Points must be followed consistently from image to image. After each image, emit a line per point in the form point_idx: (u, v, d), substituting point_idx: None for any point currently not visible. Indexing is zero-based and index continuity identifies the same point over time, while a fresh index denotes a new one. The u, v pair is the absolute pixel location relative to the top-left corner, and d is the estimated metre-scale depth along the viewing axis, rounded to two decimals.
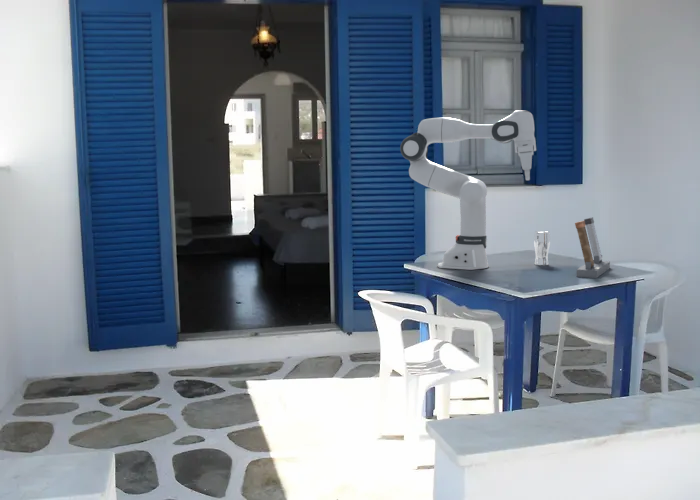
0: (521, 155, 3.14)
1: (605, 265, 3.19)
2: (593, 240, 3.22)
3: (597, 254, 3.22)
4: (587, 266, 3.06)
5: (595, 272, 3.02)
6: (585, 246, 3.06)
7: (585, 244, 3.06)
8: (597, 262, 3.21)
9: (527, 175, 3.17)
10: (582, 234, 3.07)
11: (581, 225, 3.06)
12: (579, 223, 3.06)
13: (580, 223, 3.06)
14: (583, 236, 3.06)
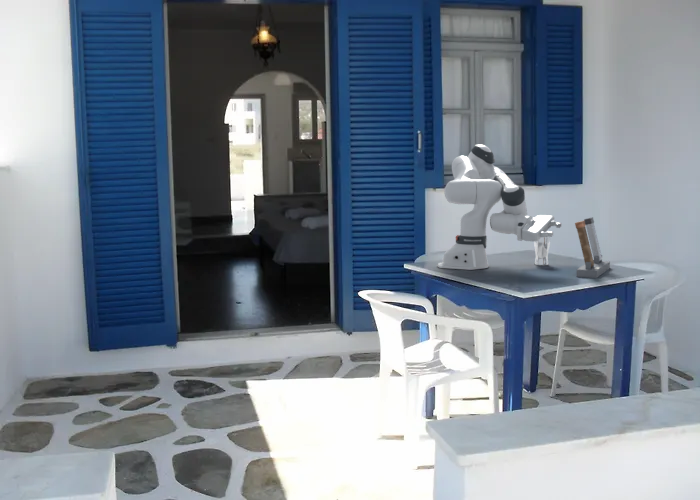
0: (523, 239, 3.12)
1: (605, 265, 3.19)
2: (593, 240, 3.22)
3: (597, 254, 3.22)
4: (587, 266, 3.06)
5: (595, 272, 3.02)
6: (585, 246, 3.06)
7: (585, 244, 3.06)
8: (597, 262, 3.21)
9: (546, 234, 3.09)
10: (582, 234, 3.07)
11: (581, 225, 3.06)
12: (579, 223, 3.06)
13: (580, 223, 3.06)
14: (583, 236, 3.06)
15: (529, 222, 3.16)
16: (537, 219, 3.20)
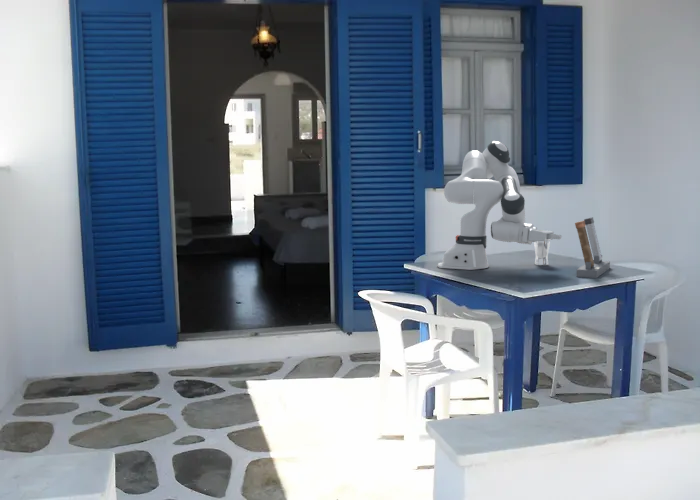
0: (530, 239, 3.10)
1: (605, 265, 3.19)
2: (593, 240, 3.22)
3: (597, 254, 3.22)
4: (587, 266, 3.06)
5: (595, 272, 3.02)
6: (585, 246, 3.06)
7: (585, 244, 3.06)
8: (597, 262, 3.21)
9: (554, 236, 3.13)
10: (582, 234, 3.07)
11: (581, 225, 3.06)
12: (579, 223, 3.06)
13: (580, 223, 3.06)
14: (583, 236, 3.06)
15: (533, 228, 3.16)
16: (538, 230, 3.21)
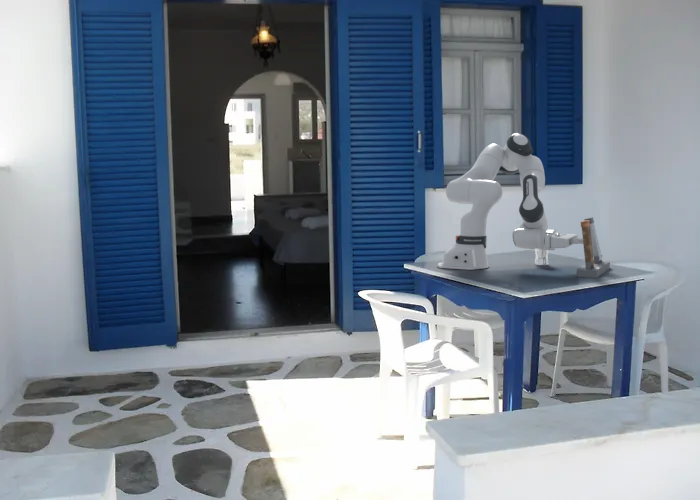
0: (552, 246, 3.07)
1: (605, 265, 3.19)
2: (593, 240, 3.22)
3: (597, 254, 3.22)
4: (587, 266, 3.06)
5: (595, 272, 3.02)
6: (587, 246, 3.06)
7: (588, 244, 3.06)
8: (597, 262, 3.21)
9: (577, 241, 3.09)
10: (586, 234, 3.06)
11: (586, 224, 3.05)
12: (585, 222, 3.05)
13: (586, 222, 3.05)
14: (587, 236, 3.06)
15: (556, 234, 3.13)
16: (561, 235, 3.18)
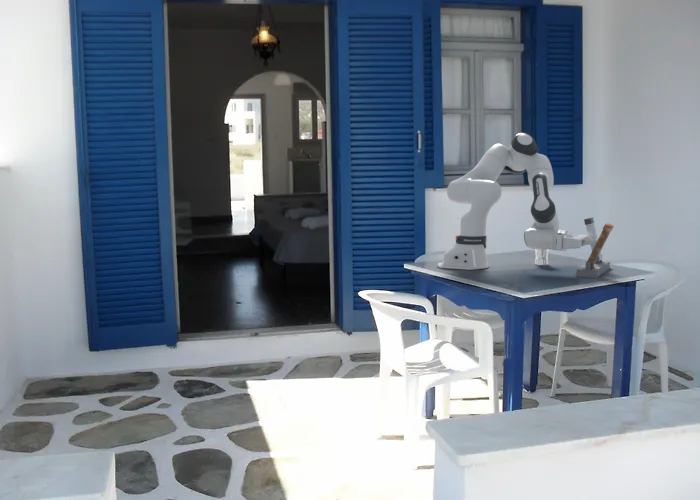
0: (564, 247, 3.04)
1: (605, 265, 3.19)
2: None
3: None
4: (587, 266, 3.06)
5: (595, 272, 3.02)
6: (598, 248, 3.04)
7: (599, 247, 3.04)
8: (597, 262, 3.21)
9: (590, 242, 3.06)
10: (603, 237, 3.03)
11: (608, 230, 3.01)
12: (608, 227, 3.01)
13: (609, 227, 3.01)
14: (603, 239, 3.03)
15: (568, 234, 3.10)
16: (573, 235, 3.15)
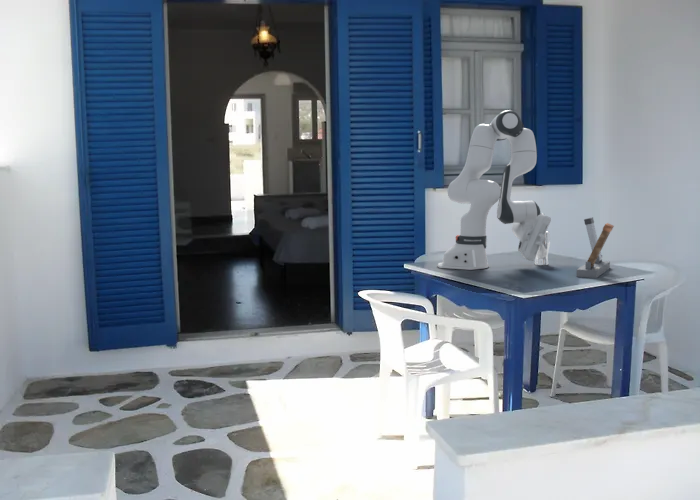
0: None
1: (605, 265, 3.19)
2: (593, 240, 3.22)
3: None
4: (587, 266, 3.06)
5: (595, 272, 3.02)
6: (598, 248, 3.04)
7: (599, 247, 3.04)
8: (597, 262, 3.21)
9: (539, 244, 3.13)
10: (603, 237, 3.03)
11: (608, 230, 3.01)
12: (608, 227, 3.01)
13: (609, 227, 3.01)
14: (603, 239, 3.03)
15: (526, 237, 3.21)
16: (535, 225, 3.19)
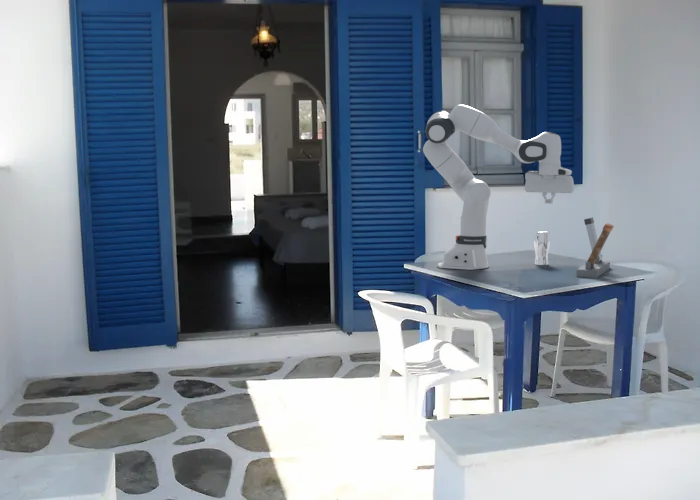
0: (570, 178, 3.11)
1: (605, 265, 3.19)
2: (593, 240, 3.22)
3: None
4: (587, 266, 3.06)
5: (595, 272, 3.02)
6: (598, 248, 3.04)
7: (599, 247, 3.04)
8: (597, 262, 3.21)
9: None
10: (603, 237, 3.03)
11: (608, 230, 3.01)
12: (608, 227, 3.01)
13: (609, 227, 3.01)
14: (603, 239, 3.03)
15: None
16: None
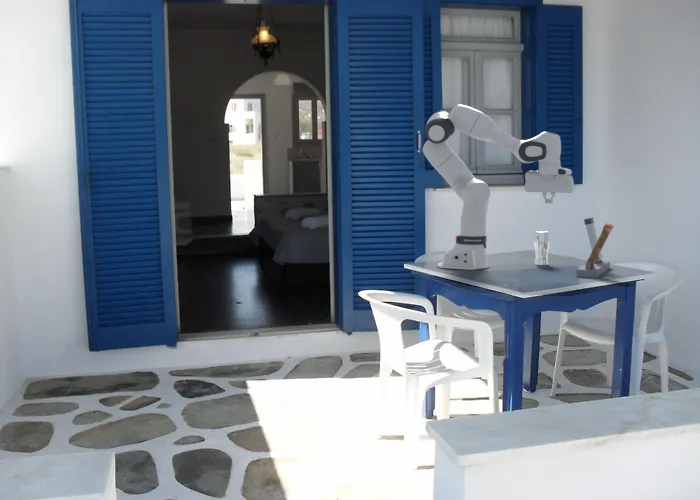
0: (570, 178, 3.11)
1: (605, 265, 3.19)
2: (593, 240, 3.22)
3: None
4: (587, 266, 3.06)
5: (595, 272, 3.02)
6: (598, 248, 3.04)
7: (599, 247, 3.04)
8: (597, 262, 3.21)
9: None
10: (603, 237, 3.03)
11: (608, 230, 3.01)
12: (608, 227, 3.01)
13: (609, 227, 3.01)
14: (603, 239, 3.03)
15: None
16: None
